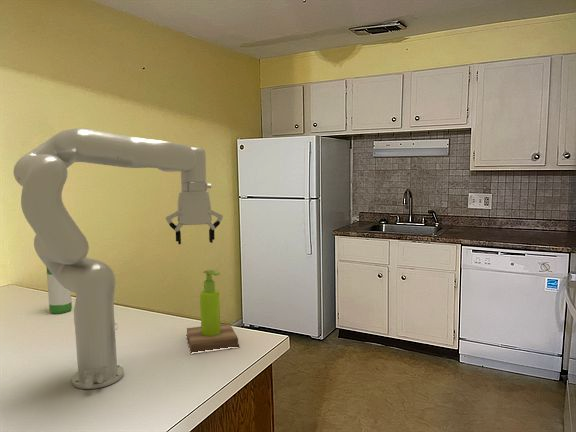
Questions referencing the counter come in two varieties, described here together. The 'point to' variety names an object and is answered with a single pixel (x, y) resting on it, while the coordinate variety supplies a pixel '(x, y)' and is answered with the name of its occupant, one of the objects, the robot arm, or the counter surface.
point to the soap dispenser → (210, 306)
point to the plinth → (211, 339)
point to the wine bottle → (58, 295)
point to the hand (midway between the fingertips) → (195, 242)
